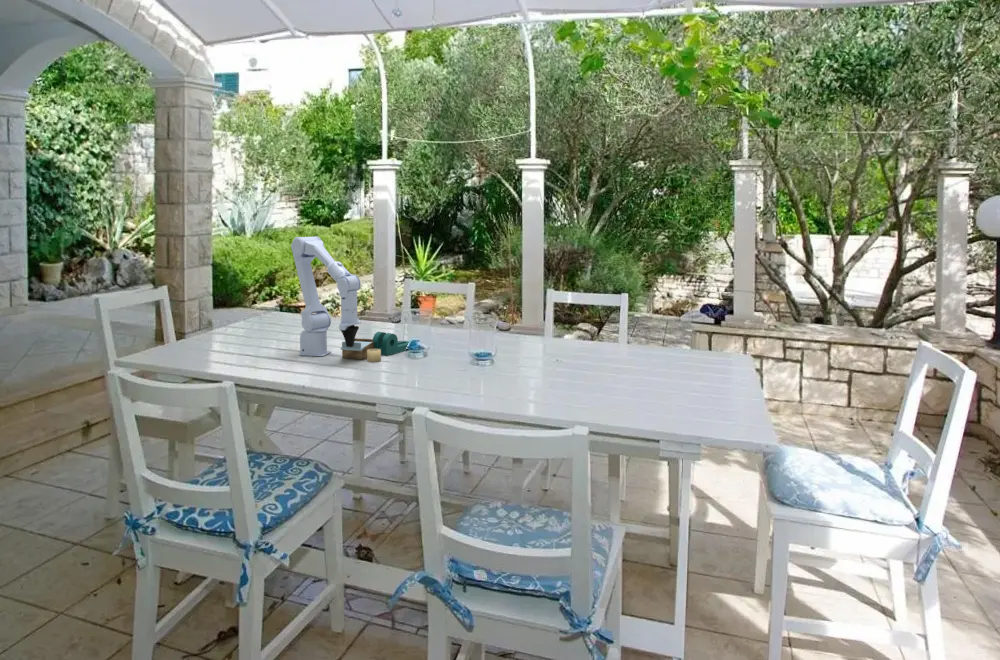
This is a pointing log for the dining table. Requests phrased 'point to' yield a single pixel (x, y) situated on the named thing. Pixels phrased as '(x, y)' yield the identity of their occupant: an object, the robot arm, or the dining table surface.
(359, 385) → the dining table surface
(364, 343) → the lid
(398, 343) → the bracket
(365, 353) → the pencil box
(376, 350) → the tape roll
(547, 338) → the dining table surface
